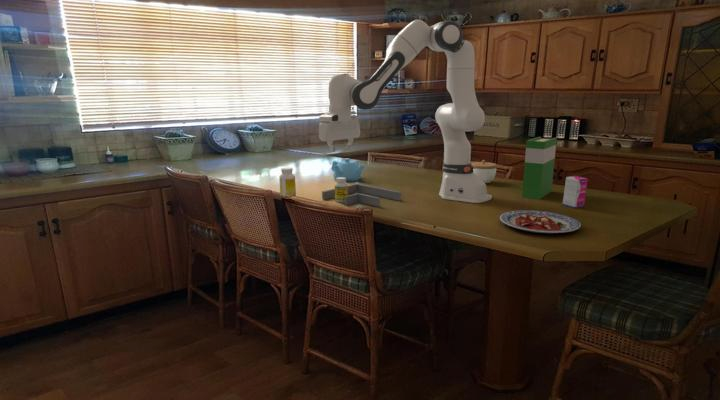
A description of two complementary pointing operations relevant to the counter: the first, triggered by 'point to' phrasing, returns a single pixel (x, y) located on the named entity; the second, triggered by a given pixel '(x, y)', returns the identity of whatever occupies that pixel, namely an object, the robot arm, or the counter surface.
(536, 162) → the green white carton
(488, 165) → the lidded bowl
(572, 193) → the supplement box
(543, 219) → the ceramic plate
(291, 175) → the supplement bottle
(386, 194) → the guide walls
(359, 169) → the teapot
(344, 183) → the supplement bottle
